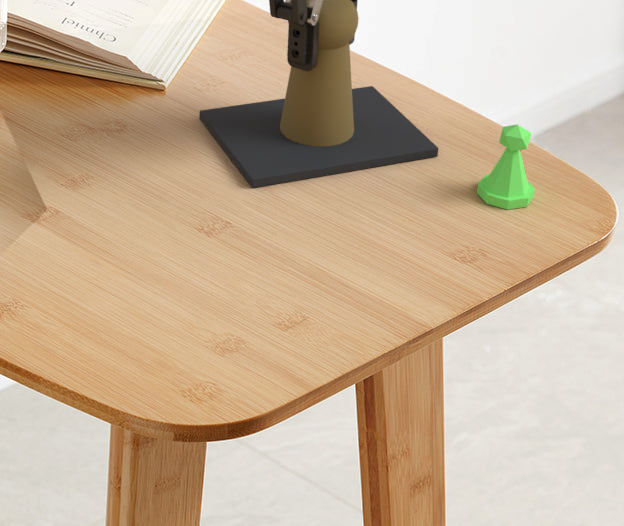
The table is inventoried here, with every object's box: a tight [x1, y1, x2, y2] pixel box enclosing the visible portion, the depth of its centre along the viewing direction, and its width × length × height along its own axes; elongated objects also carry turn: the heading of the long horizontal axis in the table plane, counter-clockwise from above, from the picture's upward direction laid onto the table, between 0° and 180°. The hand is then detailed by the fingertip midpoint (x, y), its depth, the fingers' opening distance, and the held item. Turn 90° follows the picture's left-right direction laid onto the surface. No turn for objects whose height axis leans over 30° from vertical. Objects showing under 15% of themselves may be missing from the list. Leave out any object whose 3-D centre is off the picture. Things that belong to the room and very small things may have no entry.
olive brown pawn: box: [280, 0, 359, 147], centre depth 89 cm, size 6×6×11 cm
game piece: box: [476, 124, 536, 211], centre depth 85 cm, size 4×4×6 cm
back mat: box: [199, 85, 439, 189], centre depth 92 cm, size 16×12×1 cm
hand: (321, 54), depth 88 cm, fingers closed on olive brown pawn, 5 cm apart
